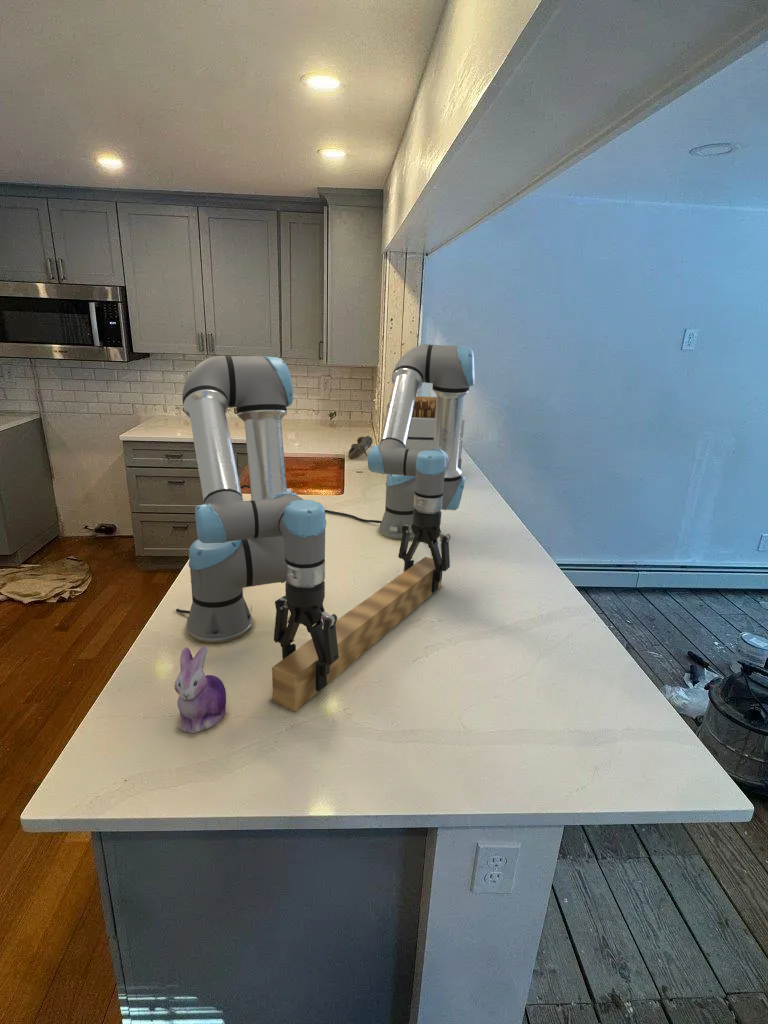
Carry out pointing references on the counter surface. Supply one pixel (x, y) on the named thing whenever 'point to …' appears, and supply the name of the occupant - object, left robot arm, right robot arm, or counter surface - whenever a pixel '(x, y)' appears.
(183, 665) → the figurine
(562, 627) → the counter surface
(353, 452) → the fossil
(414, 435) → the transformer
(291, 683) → the beam
